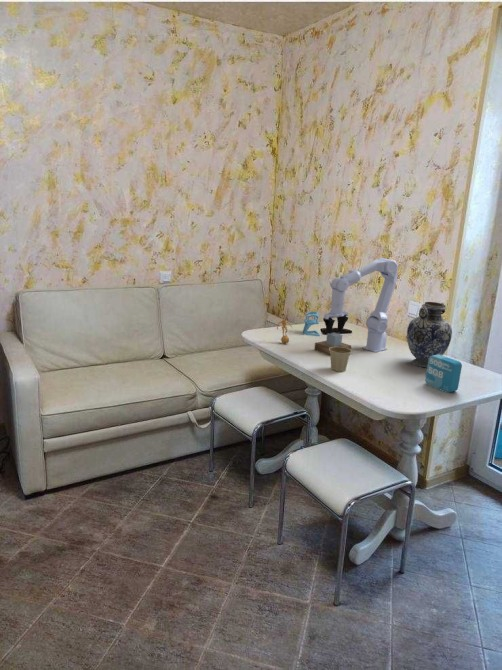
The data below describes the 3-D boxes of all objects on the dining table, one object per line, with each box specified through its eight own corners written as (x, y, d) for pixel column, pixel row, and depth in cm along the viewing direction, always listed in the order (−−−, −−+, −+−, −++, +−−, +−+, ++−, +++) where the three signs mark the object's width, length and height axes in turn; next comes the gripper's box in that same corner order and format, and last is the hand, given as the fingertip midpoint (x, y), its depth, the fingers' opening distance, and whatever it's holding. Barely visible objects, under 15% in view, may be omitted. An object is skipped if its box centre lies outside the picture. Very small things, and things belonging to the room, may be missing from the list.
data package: (424, 383, 192) (428, 354, 188) (432, 381, 194) (436, 353, 191) (449, 393, 182) (455, 363, 179) (457, 392, 184) (462, 362, 181)
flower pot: (322, 366, 205) (324, 347, 203) (341, 364, 209) (343, 345, 206) (334, 374, 197) (336, 353, 194) (353, 372, 200) (356, 352, 198)
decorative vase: (416, 354, 229) (425, 297, 222) (454, 365, 217) (465, 304, 209) (393, 363, 215) (402, 301, 207) (432, 375, 202) (444, 310, 195)
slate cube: (333, 342, 230) (334, 332, 229) (341, 345, 226) (342, 334, 225) (326, 343, 227) (327, 333, 226) (334, 346, 223) (335, 336, 222)
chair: (301, 332, 260) (302, 310, 257) (316, 332, 261) (317, 310, 258) (304, 335, 253) (305, 313, 250) (319, 336, 254) (321, 313, 251)
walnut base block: (331, 347, 236) (332, 339, 235) (350, 353, 227) (351, 345, 226) (314, 350, 229) (315, 342, 228) (333, 357, 220) (334, 349, 219)
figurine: (278, 345, 233) (280, 321, 230) (273, 341, 238) (275, 318, 235) (294, 344, 236) (296, 320, 233) (289, 340, 241) (290, 317, 238)
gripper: (333, 307, 214) (330, 336, 218) (354, 304, 223) (351, 332, 227) (321, 304, 220) (319, 332, 223) (342, 301, 229) (339, 328, 232)
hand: (334, 332), depth 225 cm, fingers open, 7 cm apart
